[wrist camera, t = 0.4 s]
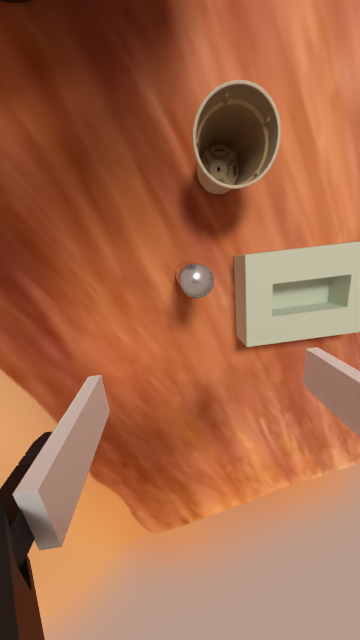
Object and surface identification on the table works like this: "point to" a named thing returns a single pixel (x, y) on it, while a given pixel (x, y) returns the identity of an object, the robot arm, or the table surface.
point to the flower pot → (235, 136)
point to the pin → (194, 279)
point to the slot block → (297, 293)
